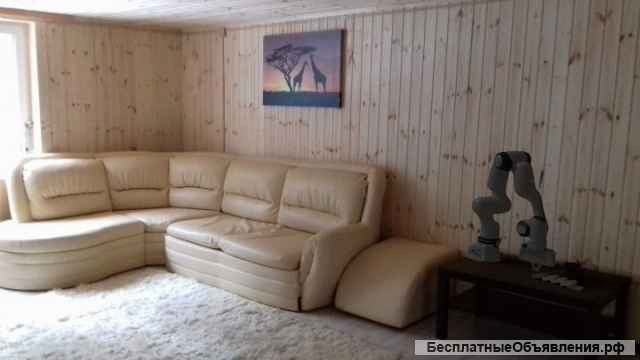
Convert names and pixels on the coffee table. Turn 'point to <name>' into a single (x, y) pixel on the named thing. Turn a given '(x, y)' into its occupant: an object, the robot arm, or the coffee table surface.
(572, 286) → the domino
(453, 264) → the coffee table surface
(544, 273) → the domino
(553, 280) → the domino
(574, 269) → the box
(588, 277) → the coffee table surface
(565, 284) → the domino
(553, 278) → the domino
